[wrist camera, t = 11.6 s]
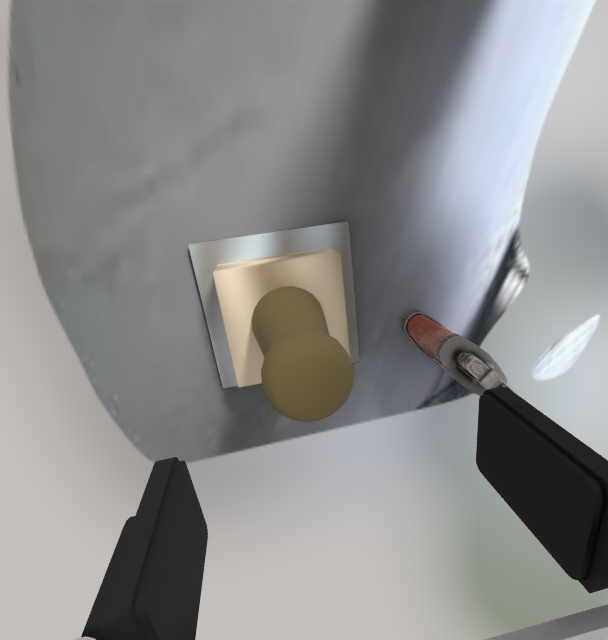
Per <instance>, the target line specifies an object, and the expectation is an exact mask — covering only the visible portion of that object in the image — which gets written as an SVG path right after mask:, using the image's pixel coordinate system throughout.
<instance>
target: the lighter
mask: <svg viewBox="0 0 608 640" xmlns="http://www.w3.org/2000/svg"><path fill="white" fill-rule="evenodd" d="M401 328H402V330H403V331H404V333H405V334H406V335H407V337H408V338H409V339H410V340H411V341H412V342H413V343H414V344H415V345H416V346H417V347H418V348H419V349H420V350H421V351H422V352H423V353H425V354H426V355H427V356H429V357H430V358H432V359H433V360H434V361H435V362H436V363H437V364H438V365H439V366H440V367H441V368H442V369H444V370H445V371H446V372H447V373H448V374H450V375H451V376H452V377H453V378H454V379H455V380H457V381H458V382H459V383H460V384H462V385H463V386H464V387H466V388H467V389H469V390H470V391H471V392H473V393H475V394H477V395H479V396H482V395H483V392H484V391H485V390H487V389H491V388H496V387H501V386H505V387H507V388H508V389H510V390H511V391H512V392H514V391H513V390H512V389H511V388H510V387H509V386H508V385H507V384H506V383H507V380H506V377H505V375H504V373H503V372H502V370H501V369H500V367H499V366H498V365H497V363H496V362H495V361H494V360H493V359H492V358H491V357H490V355H489V354H487V353H486V352H485V351H484V350H482V349H481V348H480V347H478V346H477V345H476V344H474V343H472V342H471V341H469V340H467V339H465V338H464V337H462V336H460V335H458V334H455V333H452V332H450V331H449V330H447V329H446V328H445V327H444V326H443V325H441V324H440V323H439V322H437V321H436V320H435V319H433V318H431V317H430V316H428V315H426V314H424V313H423V312H421V311H418V310H412V311H410V312H408V313H407V314H406V315H405V316H404V317H403V319H402V322H401ZM514 393H515V392H514ZM515 394H516V393H515Z"/></svg>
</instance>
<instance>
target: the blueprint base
mask: <svg viewBox="0 0 608 640" xmlns="http://www.w3.org/2000/svg"><path fill="white" fill-rule="evenodd" d="M188 246H189V250H190V254H191V258H192V263H193V267H194V271H195V275H196V279H197V283H198V287H199V291H200V296H201V300H202V304H203V308H204V312H205V316H206V320H207V325H208V329H209V333H210V337H211V341H212V345H213V349H214V353H215V358H216V362H217V366H218V370H219V374H220V378H221V382H222V386H223V388H228V387H234V386H238V388H239V387H245V386H250V385H255V384H260V383H262V379H261V369H262V365H263V361H264V356H263V353H262V351H261V349H260V347H259V344H258V342H257V340H256V338H255V335H254V333H253V331H252V321H251V319H252V315H253V311H254V308H255V307H256V305H257V303H258V302H259V300H260V299H261V298H262V297H263V296H265V295H266V294H267V293H268V292H269V291H272V290H274V289H277V288H279V287H287V286H294V287H298V288H302V289H305V290H306V291H308V292H310V293H311V294H313V295H314V296H315V298H316V299H317V300H318V301H319V302H320V304H321V307H322V309H323V312H324V316H325V319H326V323H327V327H328V330H329V334H330V336H332V337H333V338H335V339H337V340H338V341H339V343H340V344H341V345H342V346H343V347H344V349H345V350H346V351H347V353H348V354H349V357H350V360H351V363H352V364H353V363H358V362H360V356H359V344H358V331H357V319H356V306H355V293H354V281H353V268H352V256H351V243H350V230H349V222H348V221H345V222H339V223H332V224H325V225H318V226H311V227H304V228H297V229H291V230H284V231H277V232H270V233H263V234H256V235H250V236H243V237H236V238H229V239H222V240H215V241H208V242H202V243H195V244H189V245H188Z"/></svg>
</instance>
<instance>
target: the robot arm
mask: <svg viewBox="0 0 608 640" xmlns="http://www.w3.org/2000/svg"><path fill="white" fill-rule="evenodd" d="M476 463H477V466H478V469H479V470H480V472H481V473H482V474H483V476H484V477H485V478H486V479H487V480H488V482H489V483H490V484H491V485H492V486H493V487H494V489H495V490H496V491H497V492H498V493H499V494H500V495H501V497H502V498H503V499H504V500H505V502H506V503H507V504H508V505H509V506H510V507H511V509H512V510H513V511H514V512H515V513H516V514H517V515H518V516H519V518H520V519H521V520H522V522H523V523H524V524H525V525H526V526H527V527H528V529H530V531H531V532H532V533H533V534H534V535H535V537H536V538H537V539H538V540H539V541H540V543H541V544H542V545H543V546H544V547H545V549H547V551H548V552H549V553H550V554H551V555H552V557H553V558H554V559H555V560H556V561H557V563H558V564H559V565H560V566H561V567H562V568H563V570H564V571H565V572H566V573H567V574H568V575H569V576H570V577H571V578H572V579H575V580H578V581H579V582H580V583H581V584H582V585H583V586H584V587H585V589H586V590H587V591H588V592H589V593H593V592H596V591H599V590H603V589H606V588H608V461H607V460H606V459H605V458H603V457H602V456H601V455H599V454H597V453H596V452H595V451H594V450H592V449H591V448H590V447H588V446H587V445H585V444H584V443H583V442H581V441H580V440H578V439H577V438H576V437H574V436H573V435H572V434H570V433H569V432H567V431H566V430H565V429H563V428H562V427H561V426H559V425H558V424H556V423H555V422H554V421H552V420H551V419H550V418H548V417H547V416H546V415H544V414H543V413H541V412H540V411H539V410H537V409H536V408H535V407H533V406H532V405H530V404H529V403H528V402H526V401H525V400H524V399H522V398H521V397H519V396H518V395H517V394H515V393H514V392H512V391H511V390H510V389H508V388H507V387H505V386H501V387H496V388H491V389H487V390H485V391H484V392H483V395H482V396H480V399H479V415H478V434H477V453H476ZM207 539H208V532H207V525H206V522H205V519H204V516H203V513H202V510H201V507H200V504H199V501H198V498H197V495H196V492H195V489H194V486H193V483H192V480H191V477H190V474H189V471H188V468H187V465H186V463H185V461H180V462H179V460H178V458H177V457H174V458H169V459H165V460H160V461H157V462H155V464H154V466H153V470H152V472H151V474H150V477H149V480H148V483H147V486H146V488H145V491H144V494H143V497H142V499H141V502H140V505H139V508H138V511H137V513H136V516H134V517H130V518H129V519H128V520H127V521H126V523H125V525H124V527H123V530H122V532H121V535H120V538H119V540H118V543H117V545H116V548H115V550H114V553H113V556H112V558H111V561H110V563H109V566H108V569H107V571H106V574H105V577H104V579H103V582H102V584H101V587H100V589H99V592H98V595H97V597H96V600H95V602H94V605H93V607H92V611H91V613H90V615H89V618H88V620H87V623H86V626H85V628H84V631H83V634H82V636H81V638H75V639H73V640H195V636H196V628H197V620H198V612H199V604H200V596H201V587H202V580H203V572H204V563H205V555H206V547H207ZM486 640H608V605H604V606H601V607H597V608H593V609H590V610H586V611H583V612H580V613H576V614H573V615H569V616H565V617H562V618H558V619H555V620H551V621H548V622H544V623H541V624H537V625H534V626H530V627H527V628H523V629H520V630H517V631H513V632H509V633H506V634H503V635H499V636H496V637H492V638H489V639H486Z"/></svg>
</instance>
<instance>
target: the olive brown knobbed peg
mask: <svg viewBox="0 0 608 640" xmlns="http://www.w3.org/2000/svg"><path fill="white" fill-rule="evenodd" d="M251 321H252V331H253V333H254V335H255V338H256V340H257V342H258V344H259V347H260V349H261V351H262V353H263V356H264V361H263V365H262V369H261V379H262V389H263V391H264V393H265V395H266V397H267V400H268V401H269V403H270V405H271V406H272V407H273V408H274V409H275V410H277V411H278V412H279V413H280V414H282V415H284V416H286V417H288V418H290V419H293V420H298V421H305V422H309V421H316V420H320V419H323V418H325V417H327V416H330V415H331V414H333V413H334V412H335V411H336V410H338V409H339V408H340V407H341V406H342V404H343V403H344V402H345V400H346V399H347V397H348V396H349V394H350V391H351V388H352V385H353V365H352V363H351V360H350V357H349V354H348V353H347V351H346V350H345V349H344V347H343V346H342V345H341V344H340V343H339V341H338V340H337V339H335V338H333V337H332V336H330V334H329V330H328V327H327V323H326V319H325V316H324V312H323V309H322V307H321V304H320V302H319V301H318V300H317V299H316V298H315V296H314V295H313V294H311V293H310V292H308V291H306V290H305V289H302V288H298V287H294V286H287V287H279V288H277V289H274V290H272V291H269V292H268V293H267V294H266V295H265V296H263V297H262V298H261V299H260V300H259V302H258V303H257V305H256V307H255V308H254V311H253V315H252V319H251Z"/></svg>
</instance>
